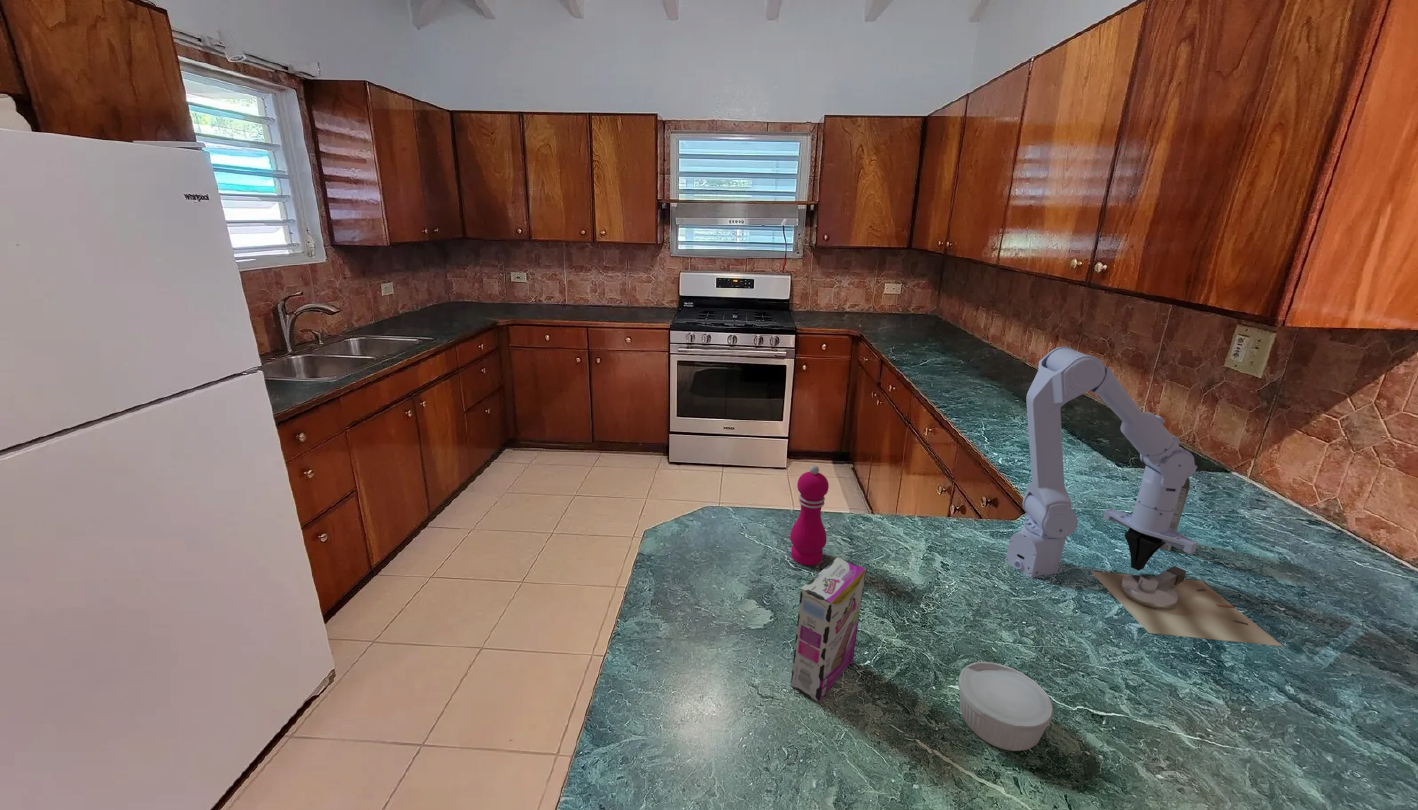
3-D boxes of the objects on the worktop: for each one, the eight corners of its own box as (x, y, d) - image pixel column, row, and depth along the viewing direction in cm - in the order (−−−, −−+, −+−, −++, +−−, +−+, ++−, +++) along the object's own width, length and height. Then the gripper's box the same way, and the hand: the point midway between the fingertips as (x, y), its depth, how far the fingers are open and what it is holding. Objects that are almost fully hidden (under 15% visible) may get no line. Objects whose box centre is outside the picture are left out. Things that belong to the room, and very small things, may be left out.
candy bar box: (820, 705, 76) (831, 603, 72) (789, 687, 79) (797, 588, 75) (855, 661, 85) (867, 567, 80) (826, 646, 88) (836, 554, 83)
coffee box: (1133, 530, 127) (1151, 465, 123) (1169, 539, 124) (1188, 473, 119) (1132, 546, 120) (1151, 478, 116) (1170, 557, 117) (1191, 487, 112)
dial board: (1147, 639, 92) (1149, 632, 91) (1089, 576, 109) (1090, 570, 108) (1280, 652, 89) (1283, 645, 89) (1199, 586, 107) (1201, 580, 106)
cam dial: (1161, 614, 95) (1167, 596, 94) (1111, 589, 102) (1116, 571, 101) (1202, 591, 102) (1208, 574, 101) (1152, 569, 109) (1157, 553, 108)
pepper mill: (824, 569, 108) (834, 475, 103) (787, 564, 110) (794, 470, 104) (824, 550, 115) (833, 460, 109) (789, 545, 116) (796, 457, 111)
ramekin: (1015, 690, 80) (1022, 660, 79) (1065, 760, 69) (1074, 726, 68) (939, 690, 80) (944, 660, 78) (977, 760, 69) (985, 727, 68)
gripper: (1213, 516, 100) (1192, 582, 104) (1124, 485, 112) (1108, 545, 116) (1194, 525, 96) (1173, 592, 100) (1104, 491, 109) (1089, 553, 112)
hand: (1137, 567), depth 108 cm, fingers closed
